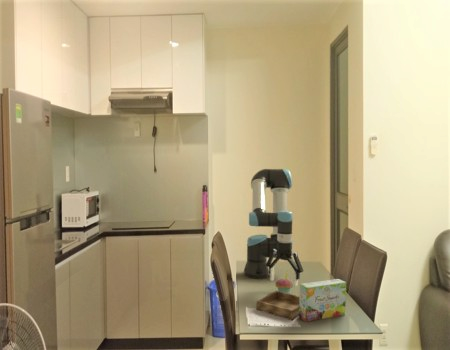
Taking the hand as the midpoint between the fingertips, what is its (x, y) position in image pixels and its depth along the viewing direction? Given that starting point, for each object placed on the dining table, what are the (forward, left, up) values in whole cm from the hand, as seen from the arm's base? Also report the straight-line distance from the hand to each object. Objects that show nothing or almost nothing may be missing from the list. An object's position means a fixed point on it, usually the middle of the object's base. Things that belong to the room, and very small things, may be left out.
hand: (283, 283), depth 192 cm
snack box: (+27, -15, -6) cm, 31 cm away
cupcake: (0, 0, -6) cm, 6 cm away
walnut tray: (+10, -18, -5) cm, 21 cm away
